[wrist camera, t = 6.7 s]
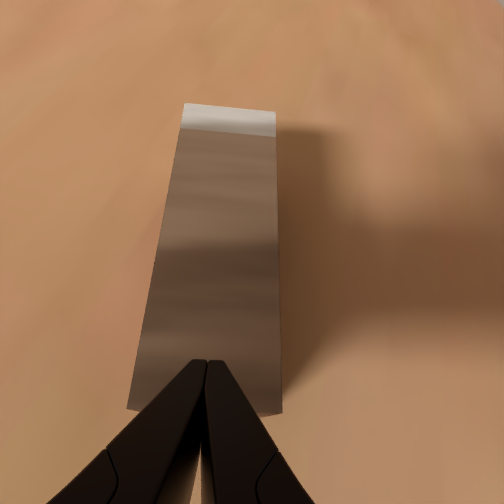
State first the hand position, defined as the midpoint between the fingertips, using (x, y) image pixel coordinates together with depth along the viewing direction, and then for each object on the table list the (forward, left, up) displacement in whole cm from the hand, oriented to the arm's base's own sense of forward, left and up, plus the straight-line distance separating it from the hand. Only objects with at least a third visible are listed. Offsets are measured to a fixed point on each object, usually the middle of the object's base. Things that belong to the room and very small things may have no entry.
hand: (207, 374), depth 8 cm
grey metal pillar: (-1, +1, -5) cm, 5 cm away
